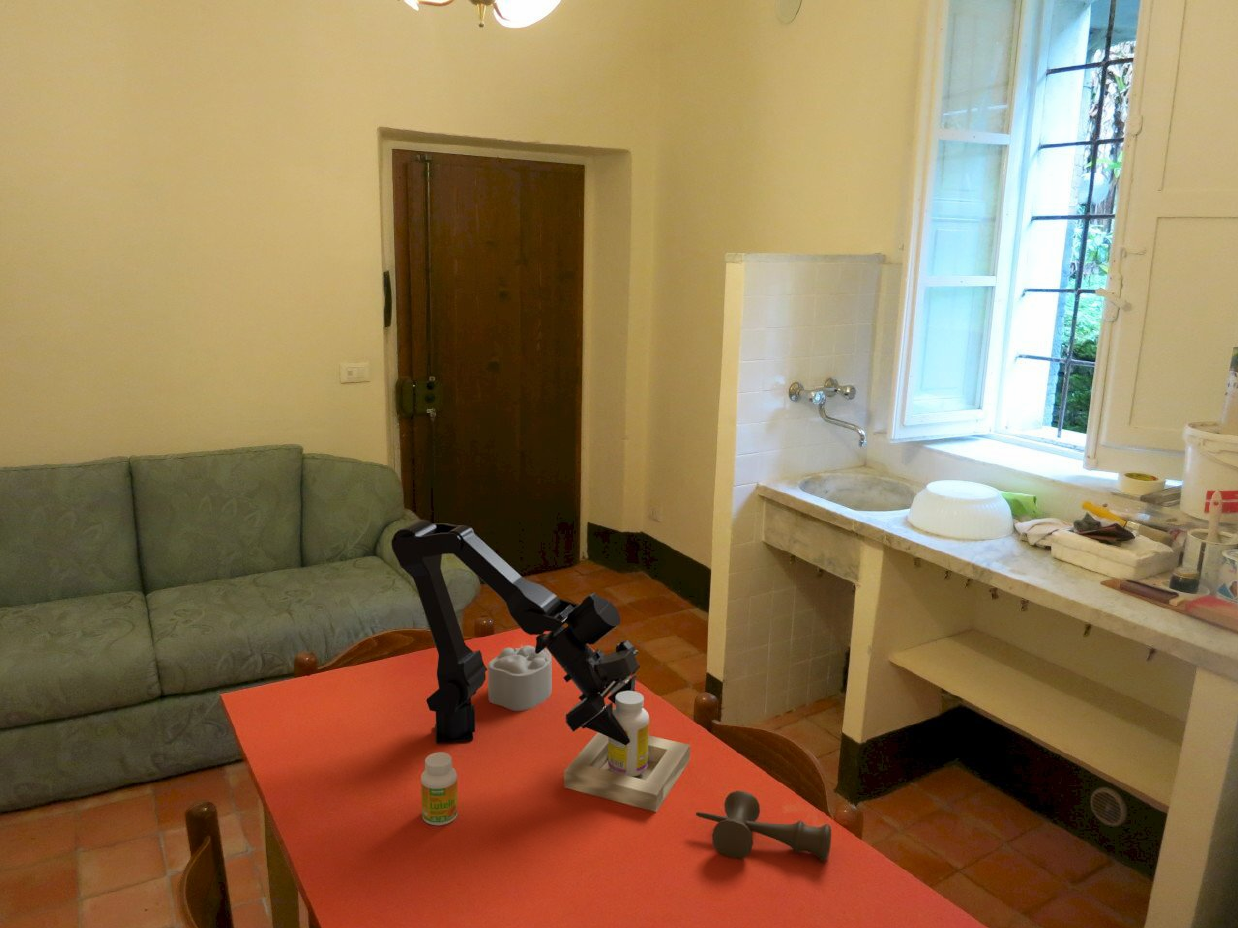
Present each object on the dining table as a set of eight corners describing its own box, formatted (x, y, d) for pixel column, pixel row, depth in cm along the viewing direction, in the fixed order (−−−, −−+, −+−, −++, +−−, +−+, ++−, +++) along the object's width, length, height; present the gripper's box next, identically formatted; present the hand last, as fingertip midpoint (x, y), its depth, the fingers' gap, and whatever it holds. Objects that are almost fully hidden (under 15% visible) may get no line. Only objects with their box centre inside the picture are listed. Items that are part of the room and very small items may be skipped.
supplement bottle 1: (427, 830, 139) (425, 772, 137) (418, 810, 144) (415, 754, 141) (462, 820, 142) (461, 763, 139) (451, 801, 146) (450, 746, 144)
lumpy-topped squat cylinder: (481, 699, 179) (480, 657, 177) (523, 673, 189) (522, 634, 187) (523, 714, 173) (523, 672, 171) (564, 687, 184) (564, 647, 182)
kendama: (825, 882, 130) (687, 849, 136) (831, 842, 140) (700, 813, 145) (830, 844, 129) (690, 813, 135) (835, 807, 138) (703, 779, 144)
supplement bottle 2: (644, 756, 158) (647, 687, 155) (649, 778, 152) (653, 706, 149) (605, 757, 157) (607, 687, 154) (609, 779, 151) (611, 707, 148)
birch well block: (564, 787, 151) (564, 770, 150) (604, 739, 165) (604, 724, 164) (656, 811, 145) (656, 794, 144) (689, 760, 159) (690, 744, 158)
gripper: (584, 655, 142) (649, 737, 141) (631, 612, 159) (689, 684, 157) (538, 691, 147) (600, 770, 145) (588, 645, 164) (644, 716, 162)
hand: (636, 733), depth 152 cm, fingers closed on supplement bottle 2, 7 cm apart
